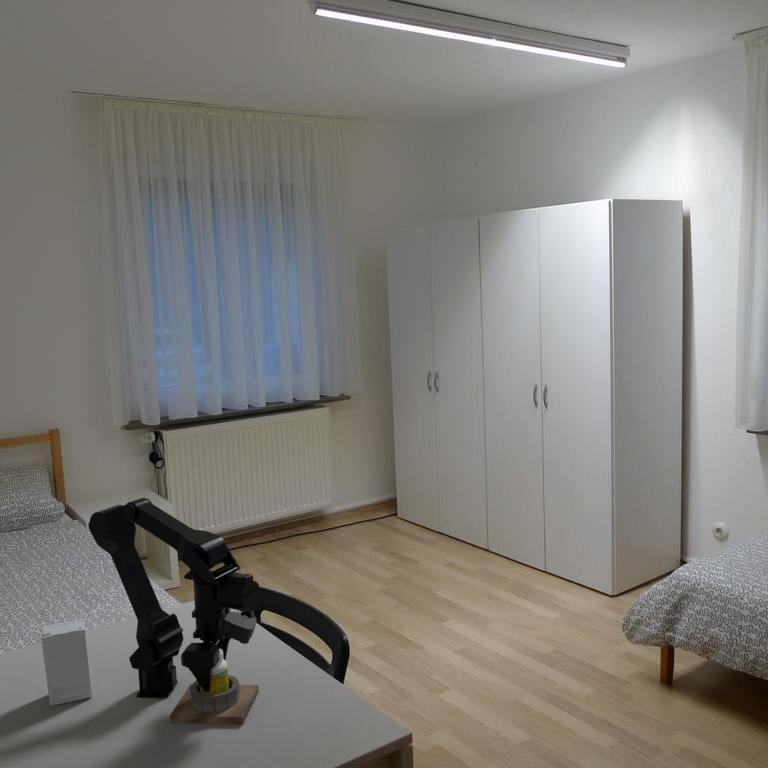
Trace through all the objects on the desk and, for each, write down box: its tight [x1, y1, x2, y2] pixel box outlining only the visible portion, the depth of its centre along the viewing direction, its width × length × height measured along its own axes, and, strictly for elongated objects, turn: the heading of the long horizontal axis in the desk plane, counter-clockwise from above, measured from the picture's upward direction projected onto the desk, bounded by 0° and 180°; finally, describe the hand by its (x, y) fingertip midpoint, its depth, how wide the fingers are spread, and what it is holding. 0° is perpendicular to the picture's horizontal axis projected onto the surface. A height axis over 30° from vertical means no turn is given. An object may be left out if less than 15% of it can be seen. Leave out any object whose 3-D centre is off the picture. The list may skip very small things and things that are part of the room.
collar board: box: [169, 674, 260, 726], centre depth 157 cm, size 14×12×4 cm
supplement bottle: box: [200, 648, 229, 694], centre depth 157 cm, size 5×5×10 cm
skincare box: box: [40, 618, 93, 707], centre depth 163 cm, size 8×6×15 cm
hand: (214, 679), depth 157 cm, fingers open, 9 cm apart
